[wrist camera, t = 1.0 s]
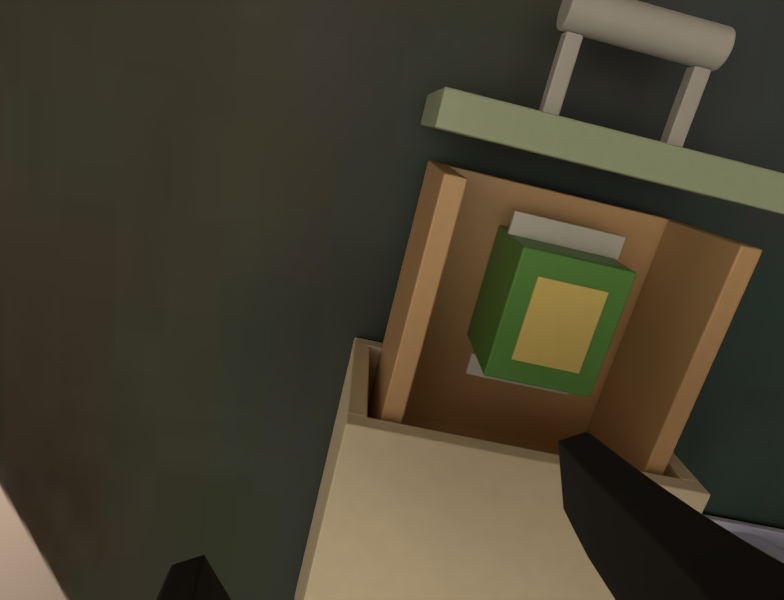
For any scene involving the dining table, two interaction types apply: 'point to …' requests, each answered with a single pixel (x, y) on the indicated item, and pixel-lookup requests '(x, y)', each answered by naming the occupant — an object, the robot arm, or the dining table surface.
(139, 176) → the dining table surface
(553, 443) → the drawer
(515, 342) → the green box
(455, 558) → the cabinet
